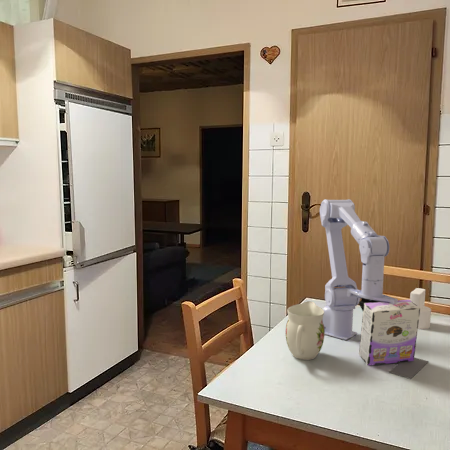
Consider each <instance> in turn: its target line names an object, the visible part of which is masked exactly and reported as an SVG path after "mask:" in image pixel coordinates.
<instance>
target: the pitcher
mask: <svg viewBox="0 0 450 450" xmlns="http://www.w3.org/2000/svg"><path fill="white" fill-rule="evenodd" d="M286 310H287V316H288V319H287V322H286V325H285V340H286V344H287V347H288V350H289V351H290V353H291V355H292V356H293V357H294V358H295V359H297V360H298V359H299V360H305V361H306V360H307V361H310V360H313V359H316V357H318V355H319V353H320V352H321V350H322V348H323V345H324V340H325V330H324V324H323V321H322V320H323V316H324V310H323V308H322V307H320V306H319V305H318V304H316V303H315V302H314V301H312V300H311V301H309V300H307V301H303V302H301V303H298V304H293V305H291V306H289V307H288V308H287V309H286Z"/></svg>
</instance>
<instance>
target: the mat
mask: <svg viewBox="0 0 450 450" xmlns="http://www.w3.org/2000/svg"><path fill="white" fill-rule="evenodd" d="M428 363H429V360H426V359H422V358H418V357H415V356H414V361H408V362H398V363H397V364H396V365H395V366H394V367H393V368H392V369H390V370H389V371H388V373H389V374H393V375H398V376H400V377H403V378H407V379H410V380H411V379H413V378H414V377H415V376H416V375H417V374H418V373H419V371H421V370H422V369H423V368H424V367H425V366H426V365H427V364H428Z"/></svg>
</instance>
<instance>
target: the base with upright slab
mask: <svg viewBox="0 0 450 450" xmlns="http://www.w3.org/2000/svg"><path fill="white" fill-rule="evenodd" d="M409 300H410V301H412V302H413V303H414V304H416V305H417V306H418V307H420V314H419V323H418V330H427V329H429V328H431V318H432V309H431V307H429V306H426V305H425V304H426V303H425V302H426V301H425V300H426V289H424V288H421V287H420V288H419V287H418V288H417V287H415V289H413V290H412V291H411V292H410V296H409Z"/></svg>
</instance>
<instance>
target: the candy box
mask: <svg viewBox="0 0 450 450" xmlns="http://www.w3.org/2000/svg"><path fill="white" fill-rule="evenodd" d="M419 314H420V307H418V306H417V305H416V304H414V303H413V302H412V301H410V298H407V299H401V300H398V303H396V304H395V305H393V304H391V303H390V302H373V303H364V309H363V311H362V320H361V331H360V339H359V349H358V350H359V352H358V355H359V357H360V358H361V359H362V361H363V362H364V363H365V364H366V366H378V365H386V364H396V363H397V364H399V363H400V362H408V361H414V357H415V354H416V353H415V352H416V345H417V338H418V337H417V336H418V331H419V329H418V323H419Z"/></svg>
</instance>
